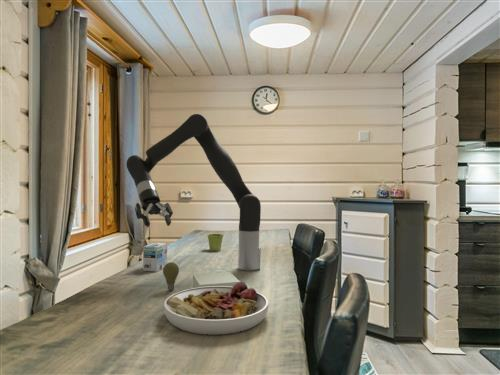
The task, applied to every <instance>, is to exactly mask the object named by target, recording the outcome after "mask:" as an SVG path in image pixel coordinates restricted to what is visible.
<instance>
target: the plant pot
mask: <svg viewBox="0 0 500 375" xmlns="http://www.w3.org/2000/svg"><path fill="white" fill-rule="evenodd" d="M206 235H207V239H208V244H209V245H208V247H209V251H210V252H219V251H221V249H222V244H223V238H224V233H223V234H222V233H208V234H206Z"/></svg>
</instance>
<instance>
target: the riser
mask: <svg viewBox="0 0 500 375" xmlns="http://www.w3.org/2000/svg"><path fill="white" fill-rule="evenodd" d="M238 282H241V281H240V280H239V279H238V278H237V277H236V276H235V275H234V274H233V273H232V272H230V271H224V272H221V271H220V272H211V273H210V272H209V273H208V272H207V273H194V274H192V288H198V287H207V286H230V287H233V286H234V285H235V284H236V283H238Z"/></svg>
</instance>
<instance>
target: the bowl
mask: <svg viewBox="0 0 500 375" xmlns="http://www.w3.org/2000/svg"><path fill="white" fill-rule="evenodd" d="M268 310H269V300H268V298H267V297H266V296H265V295H264V294H262V293H260V292H257V291H256V289H255V288H252V287H251V288H248V285H247V284H246V283H245V282H244V281H240V282H238V283H236V284H235V285H234V286H233V287H230V286H207V287H198V288H193V287H192V288H188V289H184V290H180V291H178V292H175V293H173V294H171V295H169V296H168V297H167V298H166V299H165V300H164V302H163V312H164V316H165V317H166V319H167V320H168V321H169V322H170V323H171V324H172V325H173V326H174V327H176V328H178V329H180V330H183V331H185V332H189V333H193V334H197V335H207V334H208V335H210V336H213V335H214V336H217V335H220V334H221V335H229V334H230V333H231V334H235V333H236V334H237V333H240V331H241V332H243V331H247V330H249V329H252V328H254V327H255V326H257V325H258V324H260V323H261V322H262V321H263V320H264V319H265V317H266V316H267V313H268Z"/></svg>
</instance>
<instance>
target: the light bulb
mask: <svg viewBox="0 0 500 375" xmlns="http://www.w3.org/2000/svg"><path fill="white" fill-rule="evenodd" d="M179 272H180V269H179V265H178V264H176V263H175V262H167V264H166V265H165V266H164V268H163V269H162V274H163V276H164V279H165V281H166V282H165V283H166V284H167V290H168V291H171V292H172V291H174V289H175V284H176V281H177V280H176V279H177V277H178V275H179Z"/></svg>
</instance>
